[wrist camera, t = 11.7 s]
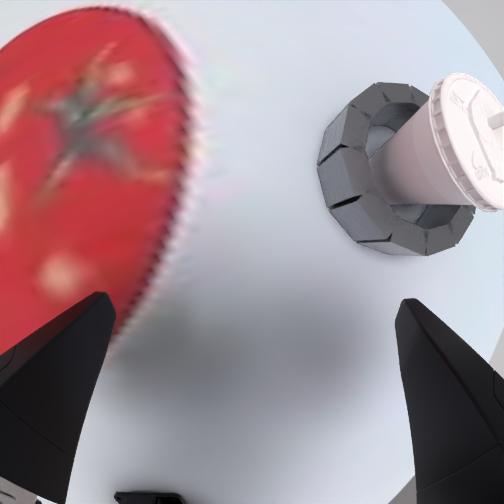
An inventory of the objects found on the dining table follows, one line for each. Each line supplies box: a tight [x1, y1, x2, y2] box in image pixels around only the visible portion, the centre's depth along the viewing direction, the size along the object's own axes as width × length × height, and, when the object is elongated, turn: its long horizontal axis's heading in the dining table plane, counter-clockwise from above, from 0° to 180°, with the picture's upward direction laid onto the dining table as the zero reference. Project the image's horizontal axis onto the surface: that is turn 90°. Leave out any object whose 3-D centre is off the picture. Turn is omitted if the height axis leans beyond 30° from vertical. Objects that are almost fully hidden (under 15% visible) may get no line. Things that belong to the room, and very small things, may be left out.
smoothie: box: [368, 73, 504, 212], centre depth 11 cm, size 6×6×14 cm
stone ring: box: [317, 82, 476, 256], centre depth 16 cm, size 10×10×4 cm
